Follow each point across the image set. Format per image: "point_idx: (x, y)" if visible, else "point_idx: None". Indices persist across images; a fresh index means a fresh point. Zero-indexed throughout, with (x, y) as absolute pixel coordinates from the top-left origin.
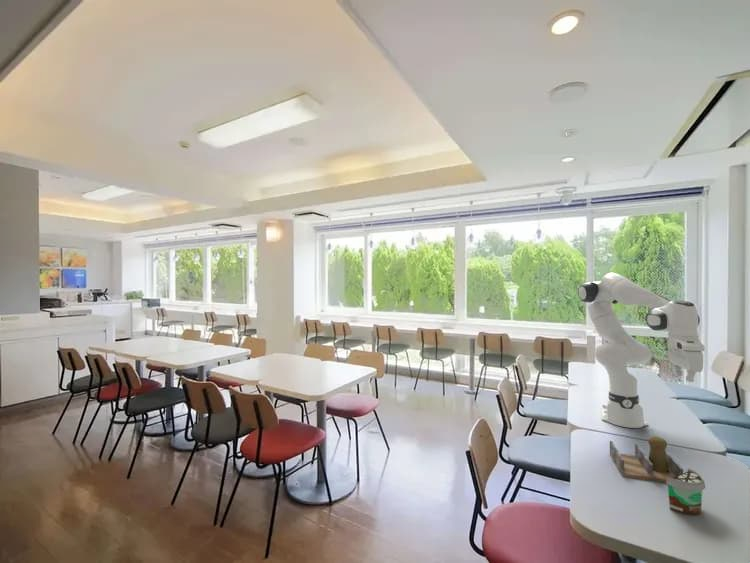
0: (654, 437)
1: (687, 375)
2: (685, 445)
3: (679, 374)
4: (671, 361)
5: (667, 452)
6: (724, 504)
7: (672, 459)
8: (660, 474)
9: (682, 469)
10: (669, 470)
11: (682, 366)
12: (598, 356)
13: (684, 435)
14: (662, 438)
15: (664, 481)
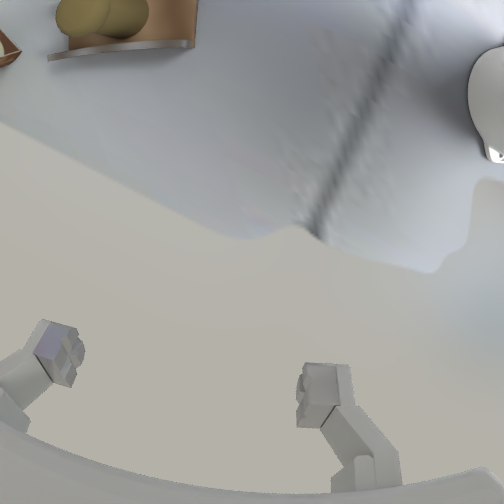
0: (73, 2)
1: (16, 361)
2: (353, 177)
3: (304, 382)
4: (404, 497)
5: (142, 46)
6: (33, 112)
7: (93, 47)
8: None
9: (49, 59)
10: (121, 40)
11: (2, 441)
12: None
13: (422, 217)
14: (78, 26)
15: None
